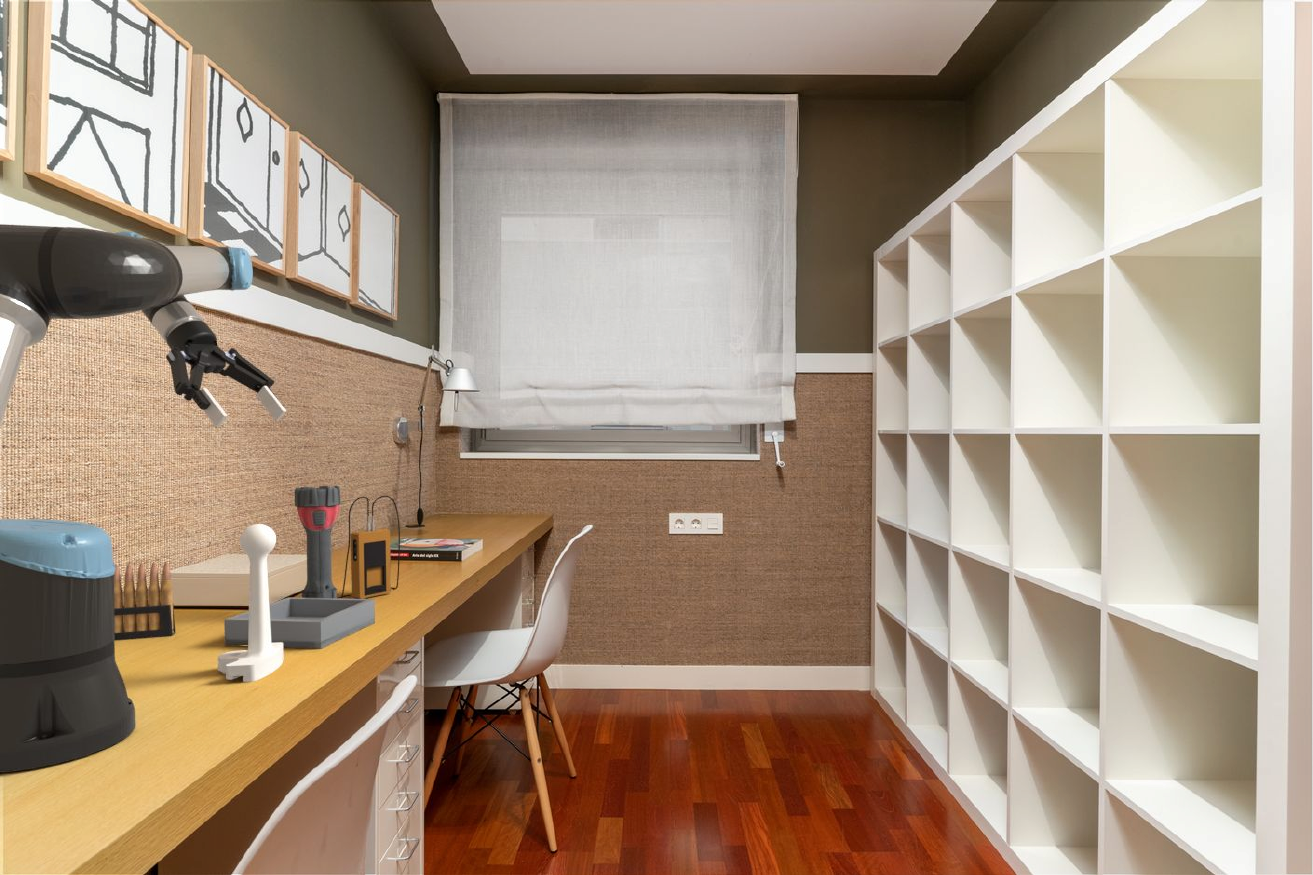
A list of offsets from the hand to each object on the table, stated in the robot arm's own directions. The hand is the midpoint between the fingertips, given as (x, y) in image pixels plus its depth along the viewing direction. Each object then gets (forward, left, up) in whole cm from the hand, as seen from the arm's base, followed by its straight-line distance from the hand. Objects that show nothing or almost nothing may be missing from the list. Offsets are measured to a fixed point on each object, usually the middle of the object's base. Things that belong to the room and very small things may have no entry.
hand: (253, 418), depth 142 cm
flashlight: (+1, -12, -36) cm, 37 cm away
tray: (-13, -18, -35) cm, 41 cm away
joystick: (-32, -22, -36) cm, 52 cm away
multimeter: (+17, -11, -36) cm, 41 cm away
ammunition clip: (-18, +8, -36) cm, 41 cm away
